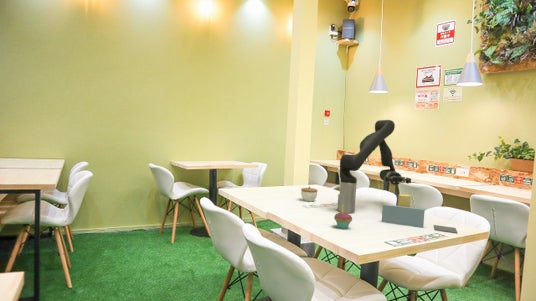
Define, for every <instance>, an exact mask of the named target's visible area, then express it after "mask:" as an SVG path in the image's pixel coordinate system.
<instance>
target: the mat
mask: <svg viewBox="0 0 536 301" xmlns="http://www.w3.org/2000/svg"><path fill="white" fill-rule="evenodd" d="M433 229H434V231H437V232H444V233H445V232H446V233H451V234H452V233H453V234H458V230H457V228H456V227H452V226H443V225H436V224H433Z"/></svg>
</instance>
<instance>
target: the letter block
mask: <svg viewBox="0 0 536 301" xmlns="http://www.w3.org/2000/svg"><path fill="white" fill-rule="evenodd" d="M397 196H398V198H397V206H402V207H410V208H411V199H412V196H411V195H410V194H400V193H398V195H397Z"/></svg>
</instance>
